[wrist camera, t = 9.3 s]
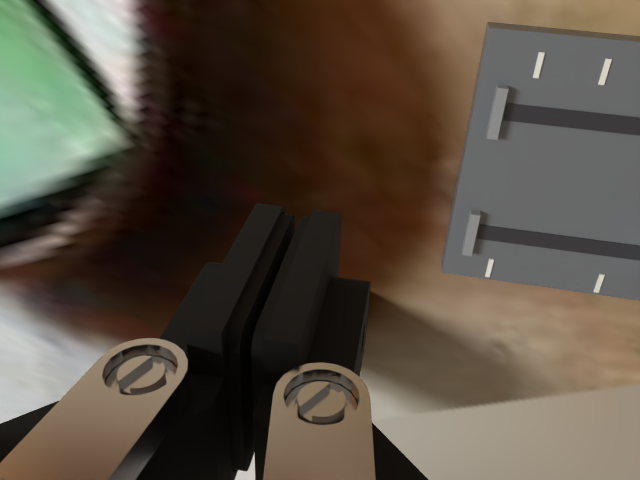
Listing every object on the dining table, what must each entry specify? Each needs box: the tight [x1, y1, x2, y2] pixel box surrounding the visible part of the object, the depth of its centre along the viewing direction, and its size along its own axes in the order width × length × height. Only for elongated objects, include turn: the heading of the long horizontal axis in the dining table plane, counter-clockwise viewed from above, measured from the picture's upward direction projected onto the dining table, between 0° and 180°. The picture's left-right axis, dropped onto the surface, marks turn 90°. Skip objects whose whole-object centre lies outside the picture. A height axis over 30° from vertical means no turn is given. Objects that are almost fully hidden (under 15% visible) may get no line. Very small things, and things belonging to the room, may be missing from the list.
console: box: [442, 22, 640, 300], centre depth 36 cm, size 16×20×2 cm
